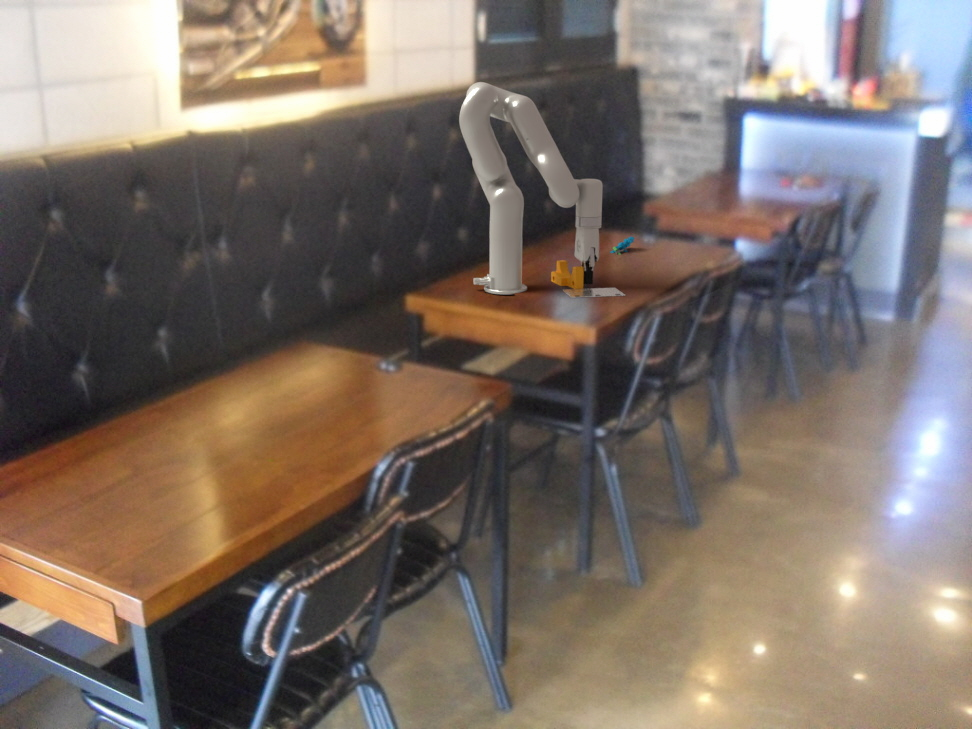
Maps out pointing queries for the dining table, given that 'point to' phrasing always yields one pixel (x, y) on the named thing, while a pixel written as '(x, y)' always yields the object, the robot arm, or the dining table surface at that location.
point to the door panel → (593, 292)
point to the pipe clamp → (568, 275)
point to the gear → (622, 246)
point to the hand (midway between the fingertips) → (586, 283)
